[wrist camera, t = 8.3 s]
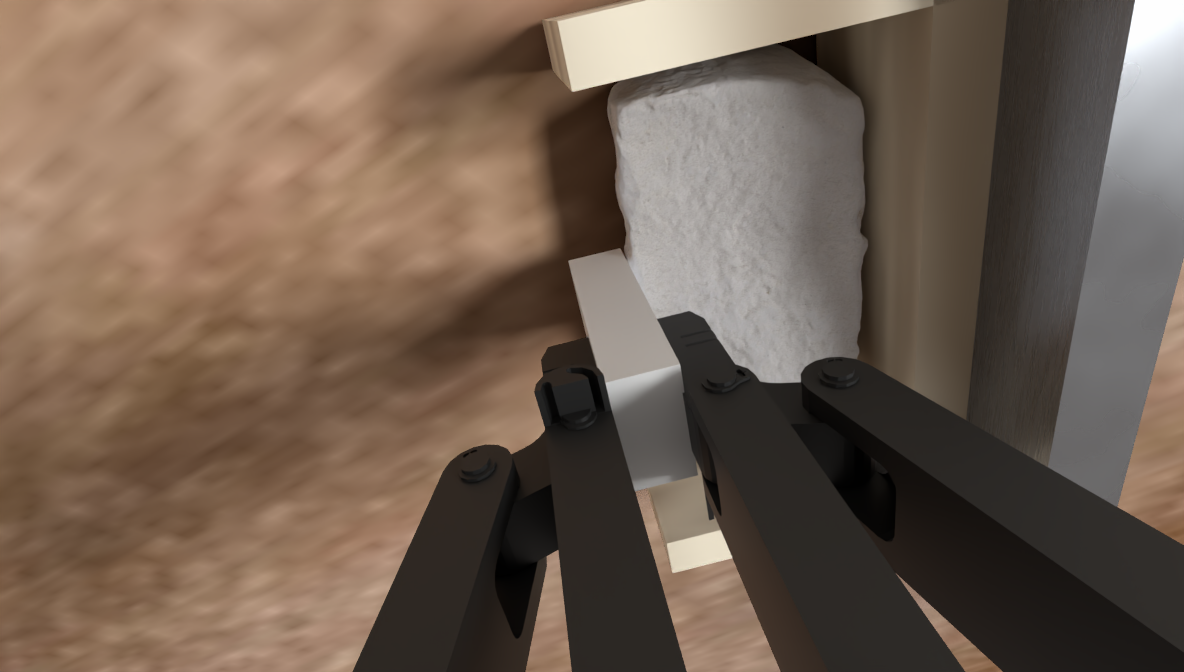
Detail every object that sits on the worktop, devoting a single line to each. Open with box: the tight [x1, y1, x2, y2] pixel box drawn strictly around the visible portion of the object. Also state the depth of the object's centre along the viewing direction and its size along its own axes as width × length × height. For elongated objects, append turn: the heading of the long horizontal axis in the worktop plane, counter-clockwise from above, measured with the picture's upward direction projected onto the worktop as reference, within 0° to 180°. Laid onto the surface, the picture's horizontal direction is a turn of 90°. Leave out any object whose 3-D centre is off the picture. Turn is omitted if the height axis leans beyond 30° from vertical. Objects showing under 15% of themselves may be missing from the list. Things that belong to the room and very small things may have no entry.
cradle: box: [542, 0, 1009, 573], centre depth 17 cm, size 8×14×5 cm, turn 12°
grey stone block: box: [607, 43, 868, 383], centre depth 17 cm, size 10×6×6 cm, turn 5°
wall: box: [966, 0, 1184, 507], centre depth 16 cm, size 2×16×8 cm, turn 11°
